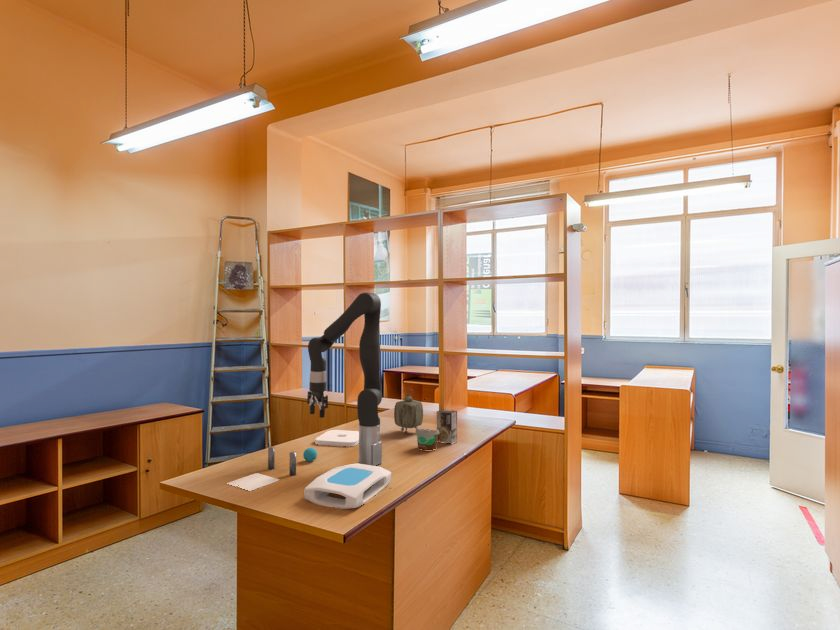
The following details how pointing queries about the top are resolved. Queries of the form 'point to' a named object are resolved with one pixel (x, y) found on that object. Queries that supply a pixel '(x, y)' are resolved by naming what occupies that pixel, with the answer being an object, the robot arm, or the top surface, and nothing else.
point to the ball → (310, 454)
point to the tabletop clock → (408, 412)
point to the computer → (338, 438)
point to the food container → (427, 438)
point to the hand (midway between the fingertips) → (316, 415)
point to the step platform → (347, 485)
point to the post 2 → (292, 464)
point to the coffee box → (447, 425)
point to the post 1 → (271, 457)
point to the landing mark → (253, 481)
